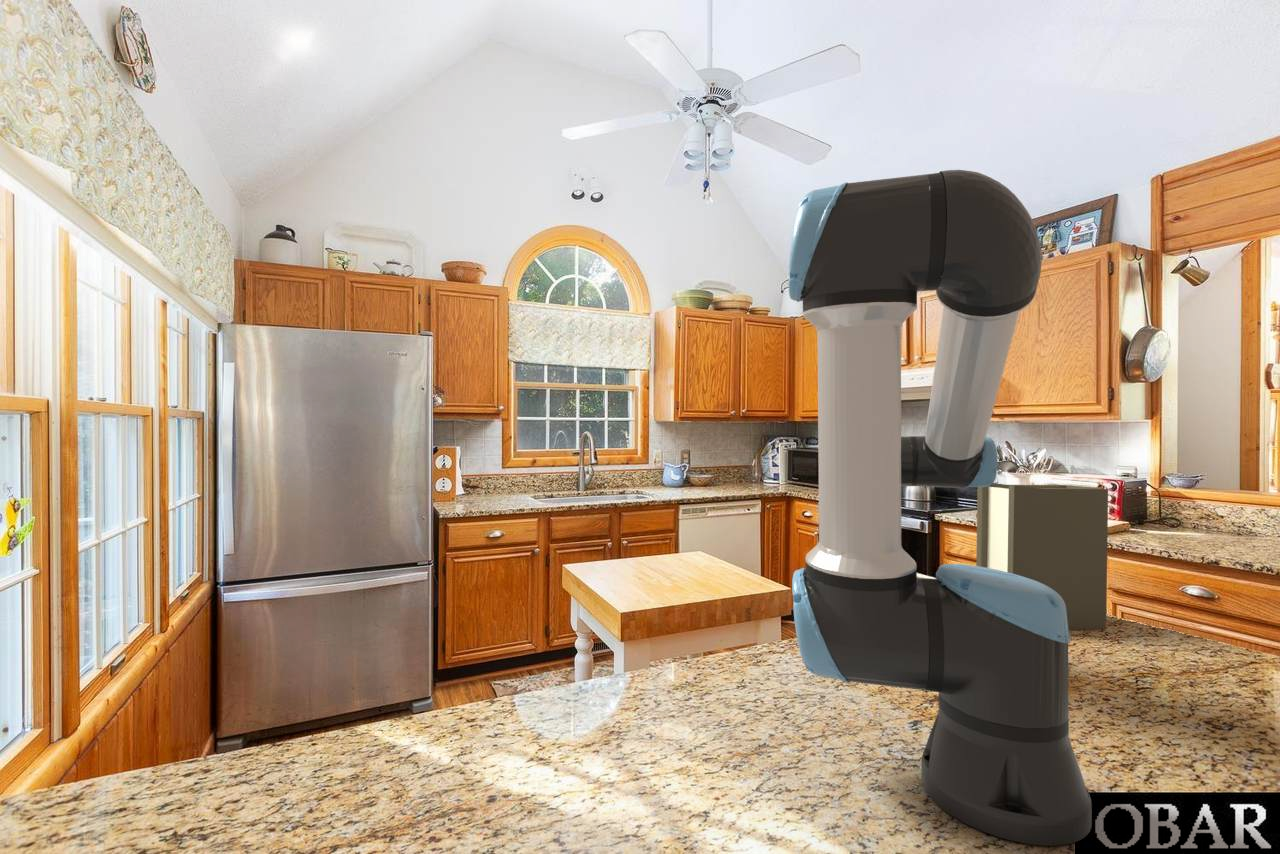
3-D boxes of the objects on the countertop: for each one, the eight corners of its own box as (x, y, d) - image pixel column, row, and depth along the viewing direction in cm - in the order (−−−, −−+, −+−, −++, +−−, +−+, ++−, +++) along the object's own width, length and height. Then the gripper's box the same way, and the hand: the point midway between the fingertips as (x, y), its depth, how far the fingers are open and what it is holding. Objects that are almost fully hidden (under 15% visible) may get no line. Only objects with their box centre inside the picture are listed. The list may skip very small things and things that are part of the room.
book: (1067, 617, 125) (1069, 482, 125) (1109, 631, 115) (1111, 486, 116) (975, 620, 121) (977, 481, 121) (1011, 635, 112) (1014, 485, 112)
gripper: (824, 521, 94) (825, 667, 94) (919, 513, 103) (920, 647, 102) (794, 515, 101) (795, 651, 101) (885, 508, 109) (886, 634, 109)
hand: (858, 649), depth 102 cm, fingers closed on mug, 7 cm apart
